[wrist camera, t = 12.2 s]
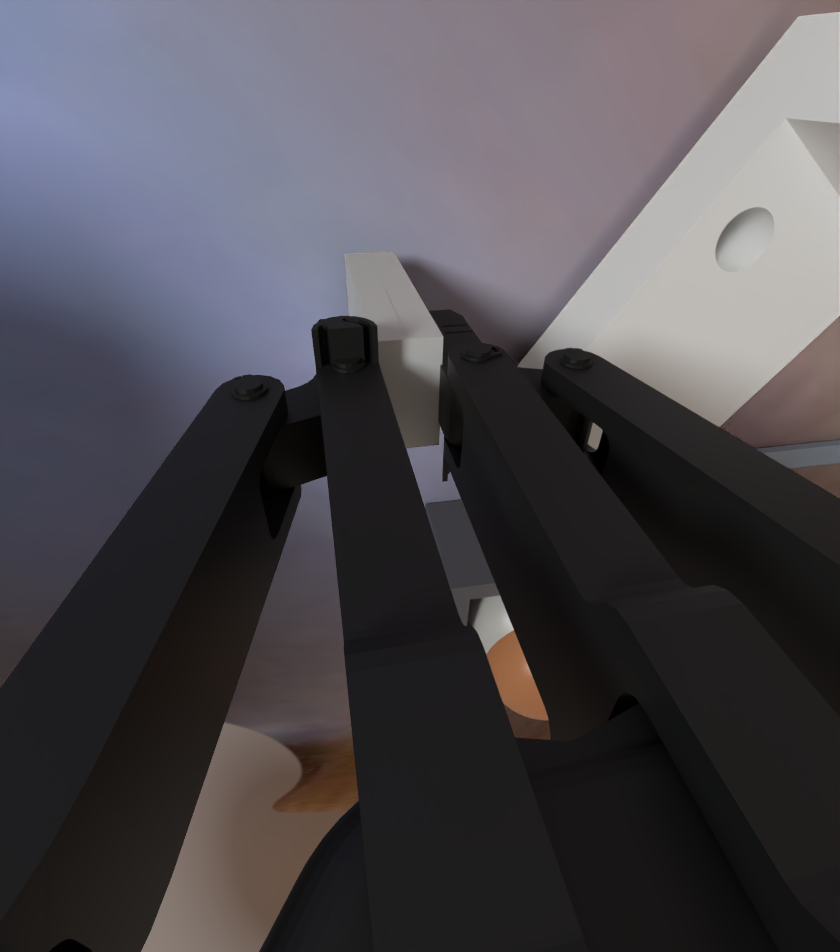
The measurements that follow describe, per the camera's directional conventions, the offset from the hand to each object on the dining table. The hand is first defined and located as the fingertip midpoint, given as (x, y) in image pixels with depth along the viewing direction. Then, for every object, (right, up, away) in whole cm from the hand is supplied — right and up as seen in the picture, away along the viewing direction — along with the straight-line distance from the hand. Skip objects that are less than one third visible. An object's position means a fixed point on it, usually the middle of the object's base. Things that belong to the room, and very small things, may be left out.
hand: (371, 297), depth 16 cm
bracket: (+11, +2, +3) cm, 11 cm away
